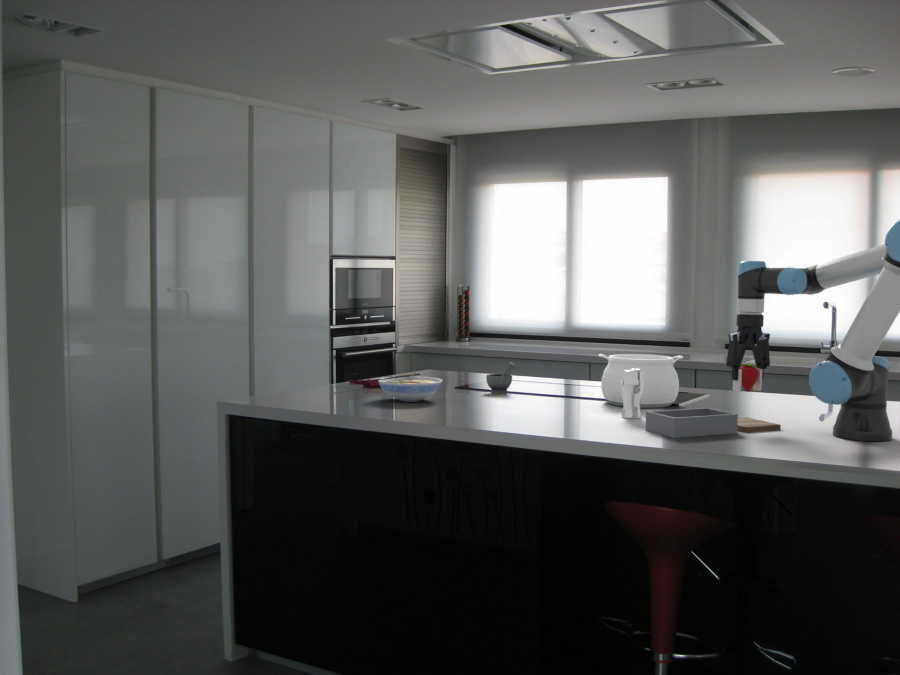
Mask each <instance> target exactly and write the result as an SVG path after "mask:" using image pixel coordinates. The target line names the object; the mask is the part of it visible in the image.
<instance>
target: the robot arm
mask: <svg viewBox="0 0 900 675" xmlns="http://www.w3.org/2000/svg"><path fill="white" fill-rule="evenodd" d="M887 230H888V231H887V232H886V234H885V236H884V237H885V238H884V244H880V245H878V246H875V247H871V248H868V249H865V250H860V251H857V252H854V253H851V254H848V255H845V256H841V257H838V258H835V259H832V260H829V261H825V262H822V263H819V264H815V265H812V266H809V267H803V268H802V267H801V268H800V267H767V266H766V265H767V263H766V262H765V261H764V260H742V261H740V263H739V266H738V274H737V283H738V284H737V286H738V287H737V303H736V304H737V305H736V306H737V307H736V311H737V315H736V324H735V325H736V326H737V330H736V332H735V333H729V334H728V336H727V337H728V349H727V355H726V363H725V365H726V366H725V367H727V368H729V369H731V381H732V391H733V392H737V393H741V392H742V384H741V380H742V370H740V367H742V365H741V364H743V363H742V362H743V360H744V356H745V353H746V351H747V349H748V347H750V348H751V350H752V357H753V359H754V363H755V368H756V369H757V370H758V378H757V380H756V382H755V384H754V385H753V387H752V389H753V390H752V391H757V392H762V388H763V387H762V386H763V379H764V375H765V374H764V373H765V371H764V370H766V369H767V368H768V367H770V365H771V360H770V342H769V341H770V337H771V333H769V332H767V333H766V332H763V330H762V328H763V327H764V314H763V313H764V312H765V295H766V294H772V295H785V296H794V295H809V296H811V295H812V296H813V295H816V294H820V293H822V292H823V291H824V290H827V289H831V288H835V287H839V286H841V285H845V284H850V283H853V282H857V281H859V280H864V279H866V278H867V279H868V278H871V277H875V276H877V278H876V280H875V281H874V284H873V285H872V287H871V289H870V291H869V292H868V295H867V296H866V298H865V300H864V302H863V304H862V305H861V306H860V309H859V310H858V312H857V314H856V316H855V318H854V320H852V323H851V325H850V326H849V328H848V330H847V331H846V333H845V336H844V337H843V339H842V341H841V343H840V344H839V345H835V346H832V347H831V348H830V350H829V351H828V353H827V356H826V357H825V359H824V360H823V361H820V362H818V363H816V364H815V365H814V366H813V367H812V368H811V370H810V372H809V375H808V376H809V377H808V385H809V386H810V391H811V393H812V394H813V396H815V397H816V398H817V400H819V401H820V402H821V403H824V404H827V405H836V406H838V405H840V408H839V412H838V413H837V416H836V420H835V423H834V425H833V426H832V435H833V436H835V437H838V438H841V439H847V440H852V441H864V442H885V441H892V439H893V429H892V428H891V425H890V424H891V423H890V420H889V416H888V413H887V404H888V402H887V400H888V385H889V384H888V383H889V373H890V369H889V361H888V359H887V358H885V357H883V356H878V355H875V354H876V353H877V351H878V349H879V348H880V346H881V344H882V343H883V341H884V339H885V337H886V335H887V334H888V332H889V331H890V329H891V327H892V325H893V324H894V322H895V321H896V319H897V317H898V316H899V313H900V219H898V220H897V221H896V222H894V223H892V225H891V226H890V227H889V229H887Z"/></svg>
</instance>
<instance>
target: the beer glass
mask: <svg viewBox="0 0 900 675" xmlns="http://www.w3.org/2000/svg"><path fill="white" fill-rule="evenodd" d="M643 385H644V378H643V370H640V369H622V376H621V392H622V399H623V407H622V411H621V412H622V413H621V418H622V419H623V418H624V419H630V420H631V419H633V420H638V419H641V418H642V413H641V408H640V403H641V398H642V393H643Z"/></svg>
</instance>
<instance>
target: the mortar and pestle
mask: <svg viewBox="0 0 900 675" xmlns="http://www.w3.org/2000/svg"><path fill="white" fill-rule="evenodd" d="M515 367H516V364H515V363H514V362H512V361H509V362H508V365H507V367H506V368H505V369H504V371H503V373H490V374H486V375H485V376H486V384H487V386H488V387H489V388H490V389H491V391H490V394H492V395H507V394H508V389H509V388H510V386H511V384H512V380H513V374H512V372H513V370H514V369H515Z"/></svg>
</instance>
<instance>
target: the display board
mask: <svg viewBox="0 0 900 675" xmlns="http://www.w3.org/2000/svg"><path fill="white" fill-rule="evenodd" d="M781 427H782V426H781V424H779V423H775V422H770V421H766V420H761V419H757V418H751V417H738V420H737V432H743V433H755V432H766V431H767V432H768V431H781Z"/></svg>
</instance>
